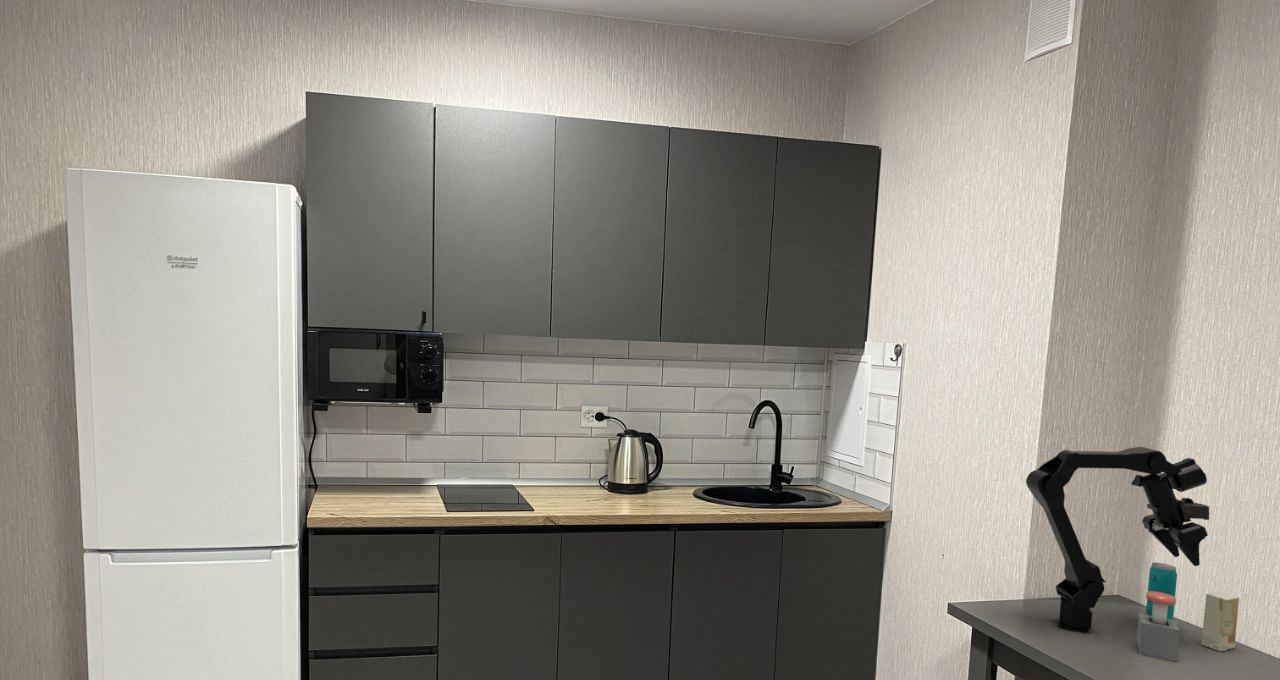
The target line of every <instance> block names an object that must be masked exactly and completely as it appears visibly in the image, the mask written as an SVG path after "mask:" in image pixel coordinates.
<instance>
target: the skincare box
mask: <svg viewBox="0 0 1280 680" xmlns="http://www.w3.org/2000/svg"><path fill="white" fill-rule="evenodd" d="M1204 603H1205V604H1204V605H1205V606H1204V613H1203V624H1202V632H1201V633H1202V635H1201V641H1200V642H1201V645H1202V646H1205V647H1207V648H1210V649H1212V650H1215V651H1218V652H1224V651H1225V652H1226V651H1229V650H1228V649H1230V650H1232V649H1231V648H1233V647H1234V648H1235V645H1236V635H1237V634H1236V633H1237V626H1238V623H1237V622H1238V613H1239V604H1240V597H1238V596H1234V595H1232V594H1229V593H1225V592H1222V591H1218V592H1210V593H1206V594H1205V602H1204Z"/></svg>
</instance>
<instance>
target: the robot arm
mask: <svg viewBox="0 0 1280 680" xmlns="http://www.w3.org/2000/svg"><path fill="white" fill-rule="evenodd" d="M1166 457H1167V456H1166V455H1164V454H1163V452H1161V451H1159V450H1156V449H1152V448H1148V447H1145V446H1136V447H1130V448H1125V449H1124V450H1118V451H1106V450H1105V451H1102V450H1101V451H1100V450H1099V451H1098V450H1097V451H1096V450H1095V451H1094V450H1093V451H1091V450H1090V451H1089V450H1070V449H1064V450H1061V451H1059V452H1058V454H1056V456H1054V457H1053V458H1051V459H1049V460H1047V461H1046V462H1044V463H1042V464H1041V465H1040V466H1039V467H1038V468H1037V469H1035V470H1034V469H1033V471H1030V473H1029V474H1028V475H1027V477H1026V479H1025V484H1026V486H1027V488H1028V489H1029V491H1030V493H1031V494H1032V496H1033V497H1034V498H1035V500H1036V501H1037V503H1038V504H1039V505H1040V506H1041V507H1042V508H1043V511H1044V513H1045V515H1046V519H1047V520H1048V522H1049V524H1050V528H1051V530H1052V533H1053V535H1054V538H1055V540H1056V542H1057V545H1058V547H1059V550H1060V553H1061V555H1062V557H1063V559H1064V576H1065V578H1063V580H1061V581H1060V582H1059V583H1058V584H1056V586H1055V591H1056V594H1057V596H1060V601H1059V612H1058V613H1059V614H1058V618H1057V619H1058V620H1057V627H1059V628H1062V629H1063V628H1064V629H1067V630H1072V631H1077V632H1082V633H1085V634H1086V633H1087V634H1089V633H1090V629H1092V624H1093V623H1092V622H1093V609H1094V608H1095V607H1096V605H1097V603H1098V600H1099V598H1100V597H1101V596H1102V595H1103V593H1104V592H1105V584H1104V583H1106V580H1105V579H1104V578H1103V576H1102V572H1101V568H1100V567H1099V565H1097V564H1095V563H1094V562H1093V561H1092V562H1091V561H1090V560H1088V559H1087V558H1086V556H1085V554H1084V552H1083V549H1082V546H1081V544H1080V542H1079V540H1078V537H1077V534H1076V532H1075V529H1074V527H1073V525H1072V522H1071V520H1070V518H1069V514H1068V512H1067V509H1066V508H1065V507H1066V506H1065V500H1066V499H1065V497H1066V494H1065V489H1064V487H1065V486H1066V485H1068V483H1069V482H1071V479H1072V477H1073V475H1074V473H1075V472H1076V471H1077V470H1078V469H1115V470H1116V469H1118V470H1119V469H1121V470H1124V469H1125V470H1131V471H1134V472H1139V473H1143V474H1146V475H1144V476H1143V475H1140V474H1135V477H1134V478H1133V480H1132V482H1131V483H1130V484H1131V486H1134V487H1135V486H1136V487H1139V488H1140V487H1142V488H1143V491H1144V494H1145V496H1146V498H1147V502H1148V503H1147V504H1146V507H1147V509H1149V510H1151V511H1152V514H1149V515H1146V516H1145V515H1144V517H1143V519H1142V521H1141V522H1142V524H1143V527H1144V528H1145V529H1146V530H1148V532H1149V534H1151V535H1152V536H1153V537H1154V538H1155V539H1156V540H1157V541H1158V542H1159V543H1160V544H1161V545H1162V546H1163V547H1164V548H1165V549H1166V550H1167V551H1168V552H1169V553H1170V554H1171V555H1172V556H1173V557H1174V558H1177V557H1180V551H1181V552H1182V553H1183V554H1184V555H1185V557H1186V558H1187V560H1188V561H1189V562H1190V563H1191V564H1192V565H1193V566H1194V567H1198V566H1200V564H1201V562H1200V543H1201V542H1202V541H1203V540H1205V539H1206V537H1208V536H1209V534H1208V531H1207V529H1206V527H1205V526H1203V525H1201V524H1198V523H1195V522H1192V519H1194V520H1195V519H1196V520H1197V519H1201V520H1202V519H1203V520H1204V521H1205V520H1206V521H1209V520H1210V506H1209V505H1206V504H1203V503H1198V502H1194V500H1193V499H1192V498H1189V497H1182V498H1181V499H1177V497H1176V494H1175V492H1174V490H1176V491H1177V492H1180V493H1183V492H1185V491H1188V490H1192V489H1194V488H1199V487H1201V486H1204V485H1206V483H1207V482H1208V481H1207V480H1208V479H1207V475H1206V472H1204V471H1203V469H1202V467H1200V466H1199V464H1198V463H1197V462H1196V459H1194V458H1191V457H1187V458H1184V459H1182V460H1180V461H1177V462H1175V463H1172V462H1170V461H1168V460H1167V458H1166ZM1179 550H1180V551H1179Z"/></svg>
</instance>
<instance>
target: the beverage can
mask: <svg viewBox="0 0 1280 680" xmlns="http://www.w3.org/2000/svg"><path fill="white" fill-rule="evenodd" d="M1177 579H1178V573H1177V567H1176V566H1174V565H1173V564H1172V565H1171V564H1168V563H1162V562H1151V566H1150V568H1149V572H1148V583H1147V585H1148V586H1147V592H1148V591H1156V592H1162V593H1166V594H1169V595H1172V596H1174V597H1175V598H1176V593H1177V592H1176V589H1177V583H1178V582H1177V581H1178V580H1177ZM1145 605H1146V607H1145V615H1149V616H1152V610H1153V602H1152V601H1150V600H1148V599H1147V598H1146V604H1145ZM1174 615H1175V605H1168V610H1167V619H1169V620H1174Z"/></svg>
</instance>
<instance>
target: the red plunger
mask: <svg viewBox="0 0 1280 680" xmlns="http://www.w3.org/2000/svg"><path fill="white" fill-rule="evenodd" d="M1145 599H1146V600H1147V599H1148V600H1150V601H1152V602H1153V610H1152V621H1151V622H1152V623H1157V624H1162V625H1166V621H1167V610H1168V605H1174V606H1175V605H1176V604H1177V598H1176V596H1175V597H1174V596H1172V595H1169V594H1166V593H1162V592H1156V591H1148V590H1147V591H1146V595H1145Z"/></svg>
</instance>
